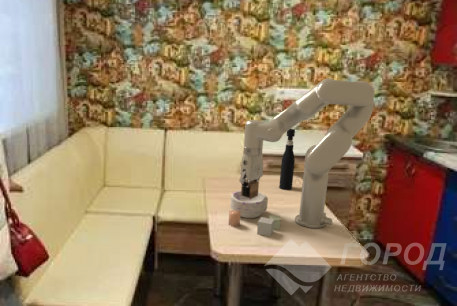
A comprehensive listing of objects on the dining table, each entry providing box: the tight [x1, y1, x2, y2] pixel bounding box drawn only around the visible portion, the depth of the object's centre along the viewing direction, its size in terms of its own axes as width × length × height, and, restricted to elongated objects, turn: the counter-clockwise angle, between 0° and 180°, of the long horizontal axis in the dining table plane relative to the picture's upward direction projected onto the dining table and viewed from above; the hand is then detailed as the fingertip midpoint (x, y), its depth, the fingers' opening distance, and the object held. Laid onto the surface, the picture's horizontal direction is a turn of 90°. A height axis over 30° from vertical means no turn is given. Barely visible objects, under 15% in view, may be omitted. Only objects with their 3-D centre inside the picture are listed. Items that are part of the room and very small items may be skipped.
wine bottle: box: [278, 128, 296, 191], centre depth 209 cm, size 6×6×30 cm
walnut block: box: [240, 181, 260, 199], centre depth 172 cm, size 5×5×6 cm
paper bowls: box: [229, 190, 269, 219], centre depth 173 cm, size 15×15×8 cm
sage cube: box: [268, 215, 281, 230], centre depth 162 cm, size 4×4×4 cm
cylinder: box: [228, 209, 241, 228], centre depth 162 cm, size 4×4×5 cm
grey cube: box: [256, 216, 275, 237], centre depth 156 cm, size 5×5×5 cm
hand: (249, 194), depth 172 cm, fingers closed on walnut block, 4 cm apart
